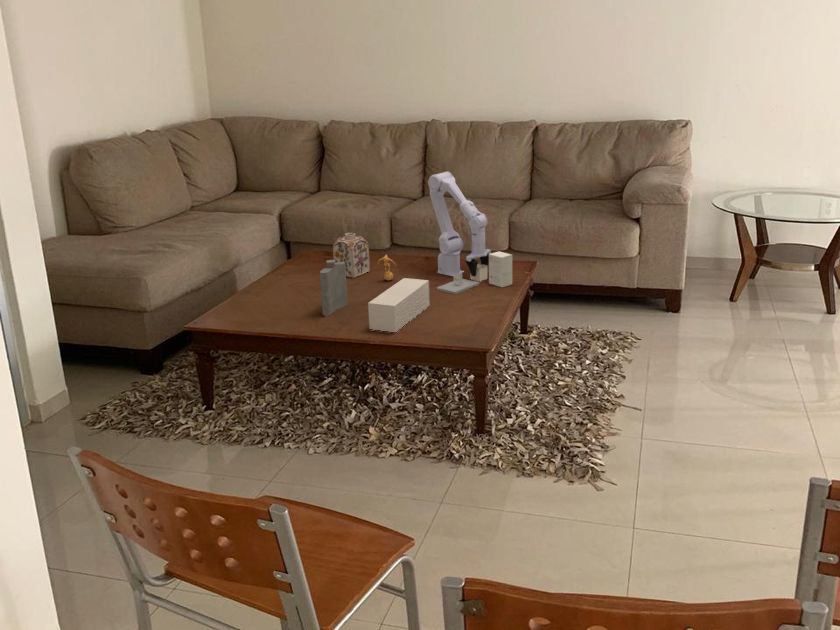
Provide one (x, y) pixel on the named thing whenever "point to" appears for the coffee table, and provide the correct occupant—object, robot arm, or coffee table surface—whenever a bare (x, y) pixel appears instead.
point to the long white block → (398, 305)
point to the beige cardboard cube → (480, 273)
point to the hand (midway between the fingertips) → (478, 273)
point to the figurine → (388, 274)
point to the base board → (457, 289)
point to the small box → (500, 269)
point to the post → (458, 279)
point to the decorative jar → (352, 254)
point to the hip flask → (333, 286)
